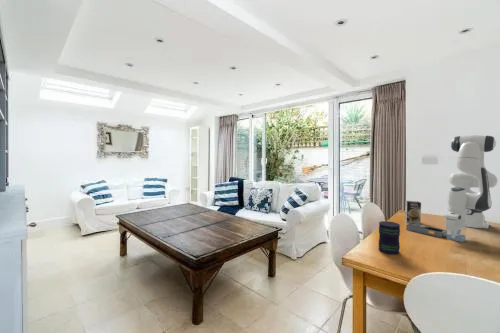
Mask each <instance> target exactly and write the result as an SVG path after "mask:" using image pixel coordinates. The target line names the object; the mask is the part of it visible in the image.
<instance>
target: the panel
mask: <svg viewBox="0 0 500 333" xmlns="http://www.w3.org/2000/svg"><path fill="white" fill-rule="evenodd" d="M446 239H447V240H451V241H455V242H456V241H457V242H460V243H463V242H465V241H466V235H464V234H461V233H460V234H456V238H452V235H451V232H447V236H446Z"/></svg>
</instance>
